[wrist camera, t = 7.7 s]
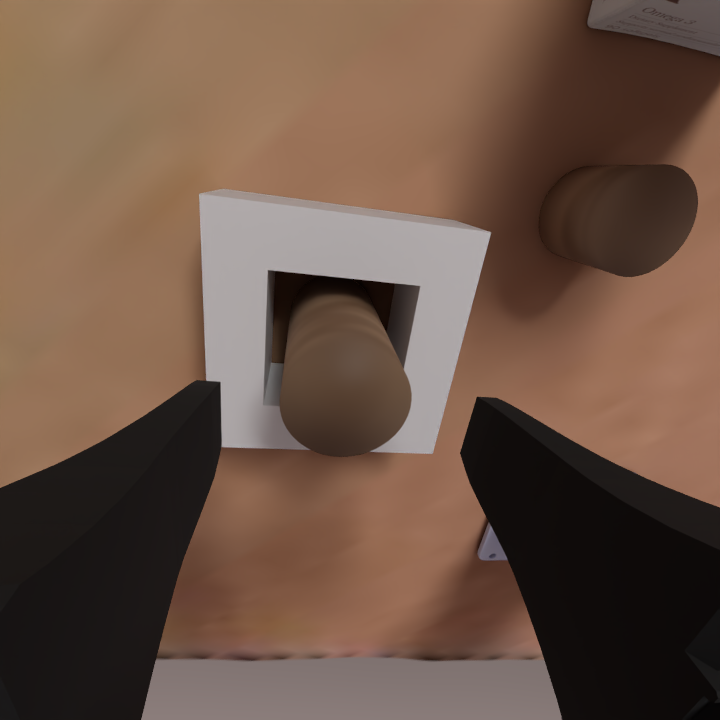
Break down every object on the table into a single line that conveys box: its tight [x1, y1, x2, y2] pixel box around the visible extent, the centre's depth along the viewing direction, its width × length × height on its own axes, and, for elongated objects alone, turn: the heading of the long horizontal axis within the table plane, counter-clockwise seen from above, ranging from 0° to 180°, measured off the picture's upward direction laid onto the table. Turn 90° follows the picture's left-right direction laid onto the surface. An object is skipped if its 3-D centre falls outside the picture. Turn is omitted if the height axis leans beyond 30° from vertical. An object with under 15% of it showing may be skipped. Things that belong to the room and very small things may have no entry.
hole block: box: [199, 189, 491, 454], centre depth 17 cm, size 10×10×4 cm
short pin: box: [539, 165, 698, 277], centre depth 16 cm, size 4×4×4 cm
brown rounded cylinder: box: [280, 276, 412, 457], centre depth 15 cm, size 4×4×8 cm
